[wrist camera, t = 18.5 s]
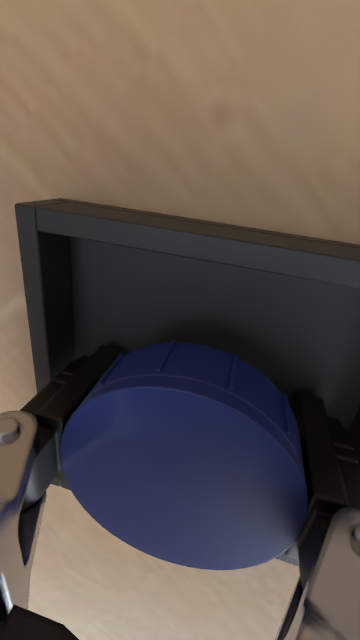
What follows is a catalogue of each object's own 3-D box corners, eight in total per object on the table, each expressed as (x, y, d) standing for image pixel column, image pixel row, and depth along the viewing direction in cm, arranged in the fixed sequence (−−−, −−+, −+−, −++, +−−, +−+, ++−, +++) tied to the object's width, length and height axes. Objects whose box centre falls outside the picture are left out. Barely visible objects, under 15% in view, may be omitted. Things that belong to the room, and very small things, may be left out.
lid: (330, 371, 7) (351, 432, 5) (269, 524, 10) (269, 598, 8) (94, 319, 8) (50, 357, 6) (96, 471, 11) (64, 527, 9)
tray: (74, 445, 14) (47, 483, 12) (60, 198, 9) (13, 203, 8) (315, 518, 12) (323, 575, 11) (448, 258, 8) (503, 283, 6)
